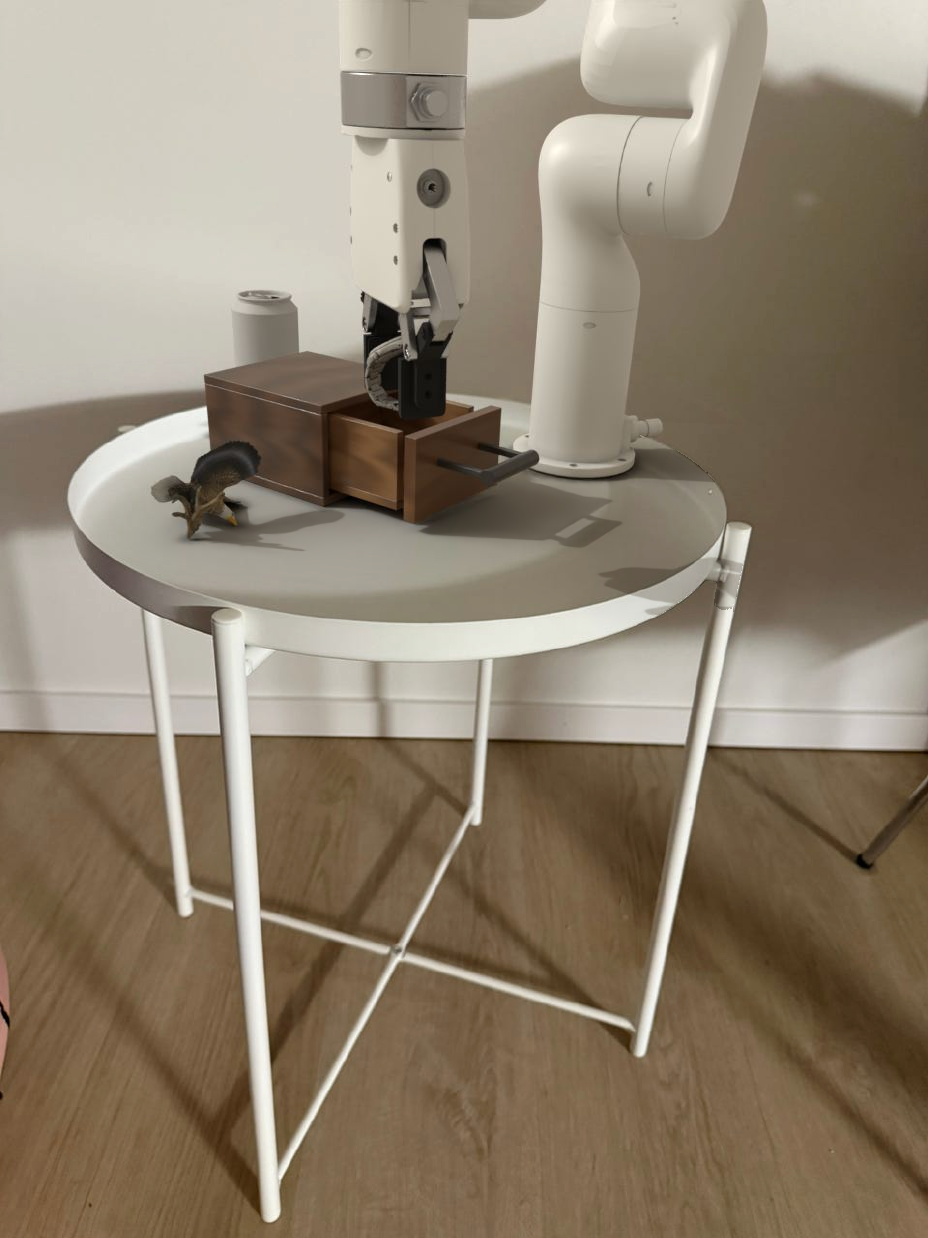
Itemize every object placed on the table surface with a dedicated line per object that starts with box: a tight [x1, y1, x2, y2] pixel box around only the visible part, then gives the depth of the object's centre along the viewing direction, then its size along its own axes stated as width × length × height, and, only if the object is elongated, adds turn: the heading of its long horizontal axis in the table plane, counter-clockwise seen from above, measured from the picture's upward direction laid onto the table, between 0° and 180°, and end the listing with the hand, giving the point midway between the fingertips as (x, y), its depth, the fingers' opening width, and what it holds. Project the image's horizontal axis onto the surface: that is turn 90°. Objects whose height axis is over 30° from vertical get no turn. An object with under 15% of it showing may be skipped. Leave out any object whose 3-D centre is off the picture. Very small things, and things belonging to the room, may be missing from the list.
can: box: [231, 289, 300, 368], centre depth 112 cm, size 8×8×12 cm
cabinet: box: [203, 350, 398, 507], centre depth 91 cm, size 15×14×9 cm
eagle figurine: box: [150, 440, 261, 540], centre depth 79 cm, size 8×7×9 cm
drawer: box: [327, 392, 539, 524], centre depth 85 cm, size 19×12×7 cm, turn 54°
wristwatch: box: [365, 336, 404, 411], centre depth 65 cm, size 4×6×5 cm, turn 56°
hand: (403, 400), depth 66 cm, fingers closed on wristwatch, 5 cm apart
